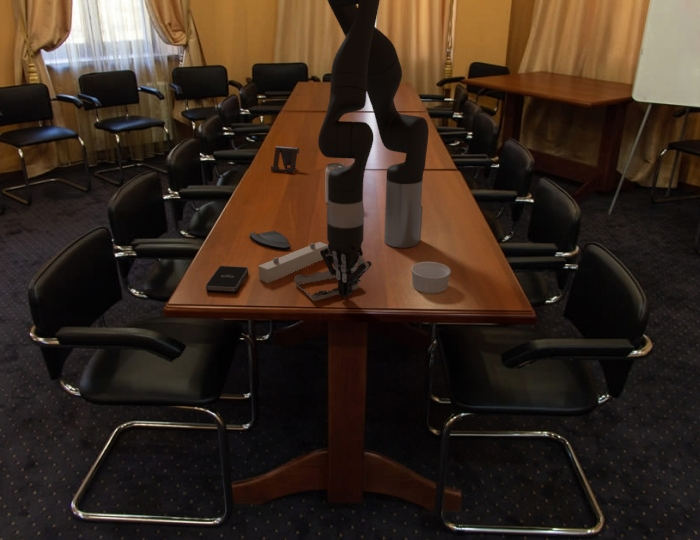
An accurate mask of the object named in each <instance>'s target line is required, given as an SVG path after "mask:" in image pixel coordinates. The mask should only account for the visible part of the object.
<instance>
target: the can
mask: <svg viewBox="0 0 700 540" xmlns="http://www.w3.org/2000/svg"><path fill="white" fill-rule="evenodd" d="M343 167H346V165H345V164H344V163H342V162H341V163H340V162H331V163H328V164H326V168H325V172H324V174H325V176H324V177H325V180H324V181H325V187H324V190H325V194H324V195H325V196H324V197H325V203H326V204H327V205H328V176H329V173H330V172H331V171H332V170H334V169H338V168H343Z"/></svg>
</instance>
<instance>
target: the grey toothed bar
mask: <svg viewBox="0 0 700 540" xmlns="http://www.w3.org/2000/svg"><path fill="white" fill-rule="evenodd" d="M327 247H328V243H324V242H321V241H318V242H316V243H315V242H311V243H310V244H309V245H308V246H305V247H303V248H300V249H298V250H294V251H293V252H291V253H287V254H285V255H282V256H280V257H276V256H275V257H273V258H272V260H270V261H267V262H264V263H262V264H259V265H258V277H259V279H258V280H260V281H261V282H264V283H266V284H271V283H272V281H273V282H274V280H275V281H277V280H279V278H280V279H282V278H284V277H286V275H287V276H289V275H291V274H293V272H294V273H296V272H298V271H301V270H303V269H305V268H307V267H306V266H308V267H310V266H312V265H314V264H313V263H315V262H317V263H319V262H318V261H320V262H321V260H322V261H324V260H323V258H322V256H321V254H320V251H321V250H323V249H325V248H327ZM311 264H312V265H311ZM315 264H316V263H315ZM309 265H310V266H309ZM304 267H305V268H304ZM302 268H303V269H302ZM300 269H301V270H300ZM297 270H298V271H297ZM295 271H296V272H295ZM290 273H291V274H290ZM288 274H289V275H288ZM283 276H284V277H283ZM281 277H282V278H281ZM276 279H277V280H276Z"/></svg>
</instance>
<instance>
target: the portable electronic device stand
mask: <svg viewBox="0 0 700 540" xmlns="http://www.w3.org/2000/svg"><path fill="white" fill-rule="evenodd" d="M274 149H275V150H274V156H273V165H271V166H270V171H271V172H272V171H274V172H273V173H282V172H287V173H286V174H291V173H293V172H295V173H296V168H295V167H297V166H296V164H297V157H298V154H299V153H300V148H299V147H292V146H291V147H290V146H280V145H276V146H275V148H274ZM280 157H281V161H282V164H283V167H284V166H285V167H284V168H280V166H279V165H280V164H279V161H280ZM287 166H289V167H287Z"/></svg>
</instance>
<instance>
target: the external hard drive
mask: <svg viewBox="0 0 700 540" xmlns="http://www.w3.org/2000/svg"><path fill="white" fill-rule="evenodd" d="M248 276H249V268H248V266H235V265H233V266H232V265H231V266H230V265H219V266H218V268H217V269H216V270H215V271H214V273H213V274H212V276H211V277H210V279H208V282H206V284H205V291H206V292H207V293H208V294H209V293H210V294H227V295H229V294H230V295H236V294H237V293H238V292H239V290H240V288H241V287H242V285H243V283H244V281H245V280H246V278H247V277H248Z"/></svg>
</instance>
